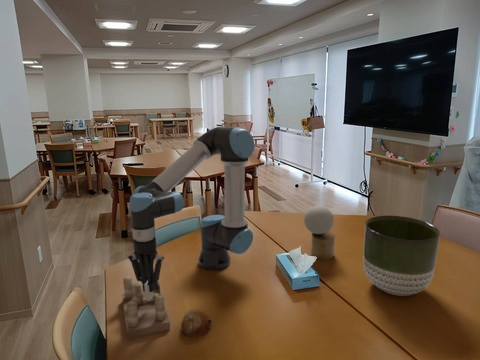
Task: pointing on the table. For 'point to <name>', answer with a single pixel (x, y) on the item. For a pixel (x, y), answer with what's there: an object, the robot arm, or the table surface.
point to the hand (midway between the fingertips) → (149, 298)
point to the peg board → (143, 313)
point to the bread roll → (195, 323)
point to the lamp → (320, 231)
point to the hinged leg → (141, 294)
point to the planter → (400, 253)
